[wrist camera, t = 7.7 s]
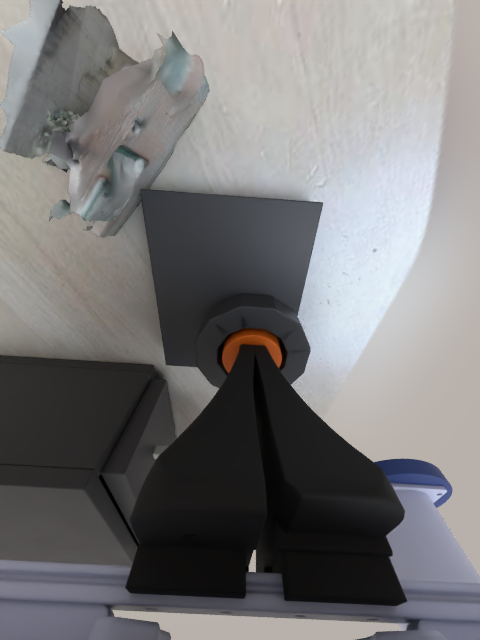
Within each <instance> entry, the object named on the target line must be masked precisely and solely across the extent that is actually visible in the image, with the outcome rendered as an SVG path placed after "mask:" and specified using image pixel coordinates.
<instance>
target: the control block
mask: <svg viewBox="0 0 480 640" xmlns="http://www.w3.org/2000/svg"><path fill="white" fill-rule="evenodd" d="M140 192H141V199H142V206H143V212H144V219H145V226H146V233H147V239H148V246H149V253H150V259H151V266H152V273H153V280H154V286H155V293H156V300H157V307H158V313H159V320H160V327H161V333H162V340H163V347H164V354H165V360H166V365H173V366H189V367H198V368H199V369H200V371H201V372H202V373H203V374H204V376H205V377H206V378H207V380H208V381H209V382H210V384H212V385H213V386H216V387H218V388H220V387H221V386H222V384H223V383H224V381H225V379H226V377H227V376H228V374H229V373H228V372H227V370H226V369H225V367H224V365H223V362H222V354H223V348H224V341H225V338H226V337H227V335H229V334H231V333H233V332H236V331H238V330H241V329H243V328H254V329H266V330H268V331H269V332H271V333H273V334H274V335H276V336H277V338H278V342H279V346H280V350H281V354H282V362H281V365H280V367H279V369H280V371H281V372H282V374H283V375H284V377H285V378H286V380H287V381H288V382H289V384H290V385H291V384H292V383H293V382H294V381H295V380H296V379H297V378H299V377H300V376H301V375H302V374H303V373H304V371H305V367H306V364H307V361H308V357H309V354H310V345H309V343H308V341H307V338H306V336H305V333H304V331H303V328H302V326H301V324H300V321H299V319H298V317H297V315H298V311H299V306H300V302H301V298H302V293H303V289H304V285H305V280H306V276H307V271H308V267H309V263H310V258H311V254H312V249H313V245H314V241H315V236H316V232H317V228H318V223H319V219H320V214H321V210H322V206H323V203H322V202H310V201H296V200H282V199H269V198H255V197H242V196H228V195H215V194H201V193H187V192H174V191H160V190H147V189H140Z"/></svg>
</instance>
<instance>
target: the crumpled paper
mask: <svg viewBox="0 0 480 640" xmlns="http://www.w3.org/2000/svg"><path fill="white" fill-rule="evenodd" d="M62 3H63V1H62V0H30V19H28V20H26V21H23V22H21V23H19V24H17V25H15V26H13V27H10V28H8V29H6V30H4V31H2V32H0V33H1V34H2V35H3V36H5V37H6V38H7V39H8V40H9V41H10V42H11V43H12V44H14V45H15V47H14V51H13V55H12V59H11V62H10V67H9V75H8V83H7V91H6V98H5V99H4V101H3V102H2V103H1V104H0V107H1V108H2V110H3V111H4V112H5V114H6V119H7V124H6V126H5V129H4V131H3V133H2V135H1V139H0V148H1V149H2V150H3V151H6V152H8V153H11V154H12V153H14V154H16V155H21V156H23V157H27V158H31V159H33V158H34V157H38V156H41V155H44V154H47V153H48V155H47V156H46V157H45V158H44V160H43V162H44V163H45V164H47V165H48V164H49V165H52V166H56V167H58V169H62V170H63V171H65V172H66V173H67V171H68V168H70V169H71V170H70V175H69V189H68V192H69V194H70V195H71V201H70V204H69V203H68V202H67V201H66V200H61V201H59V202H58V203H57V204H55V205H54V207H53V209H52V210H51V212H50V218H49V221H50V220H51V218H52V217H54V218H57V219H60V218H62V217H64V216H66V215H67V214H70V213H76V214H78V215H79V216H81V217H82V218H83V220H85V221H87V220H89V221H90V222H91V221H94V222H95V223H94V225H93V226H89V227H88V226H87V227H86V228H85V230H87V231H89V232H91V233H92V234H94V235H95V236H97V237H98V238H104V237H107V236H115V235H116V234H117V232H118V230H119V229H120V228H121V227H122V225H123V224H124V223H125V221H126V220H127V219H128V217H129V216H130V215H131V213H132V212H133V211H134V209H135V208H136V207H137V205H138V204H139V202H140V201H141V192H140V189H147V190H148V189H149V187H150V186H151V184H152V183H153V181H154V180H155V178H156V177H157V176H158V174H159V173H160V172H161V170H162V168H163V167H164V166H165V164H166V162H167V161H168V159H169V157H170V156H171V155H172V153H173V149H174V146H175V144H176V142H177V140H178V139H179V137H180V136H181V135H182V133H183V131H184V130H185V129H186V128H187V127H189V125H190V123H191V121H192V119H193V118H194V116H195V115H196V113H197V111H198V110H199V108H200V107H201V105H202V104H203V102H204V101H205V100H206V98H207V94H208V93H209V91H210V90H209V85H208V82H207V80H206V77H205V75H204V65H203V62H202V60H201V58H200V56H198V55H195V54H194V55H189V54H188V53H187V52H186V50H185V49H184V48H183V47H182V45H181V44H180V42H179V41H178V39H177V37H176V36H175V34H174V33H173V31H172V37H170V38H169V39H167V40H166V39H164V38H163V37H162V36H161V35H159V34H158V33H157V32H156V33H157V34H158V36H159V38H160V40H161V42H162V44H163V46H162V47H161V48H160V49H157V50H155V53H154V56H153V58H152V59H149V60H147V61H144V62H141V63H138V62H137V61H135V60H133V59H132V58H130V57H129V56H128V55H126V54H125V53H124V52H122V51H121V50H120V49H119V46H118V43H117V40H116V37H115V34H114V31H113V28H112V26H111V24H110V23H109V21H108V19H107V17H106V16H105V15H103V14H102V13H101V11H100V9H98V10H97V8H96V7H92V6H87V5H86V7H85V8H81V7H79V8H78V7H76V6H75V7H73V6H72V7H71V5H69V6H70V8H68V9H67V10H66V11H65V9H64V8H62V5H61V4H62ZM83 230H84V229H83Z"/></svg>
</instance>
